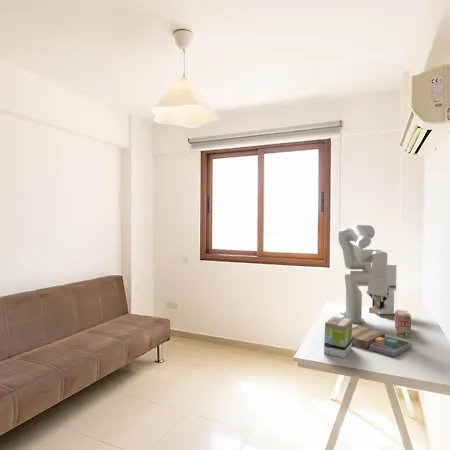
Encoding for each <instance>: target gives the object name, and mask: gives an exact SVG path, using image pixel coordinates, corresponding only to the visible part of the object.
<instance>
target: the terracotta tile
mask: <svg viewBox="0 0 450 450" xmlns="http://www.w3.org/2000/svg"><path fill="white" fill-rule="evenodd" d="M384 345H385V338H382V337H378V338H376V339H375V346H376V347H380V348H384Z"/></svg>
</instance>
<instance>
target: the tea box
mask: <svg viewBox="0 0 450 450" xmlns="http://www.w3.org/2000/svg"><path fill="white" fill-rule="evenodd" d="M352 328H353V323H352V319H346V318H343V317H338V316H332V317H331V318H329V319H328V320H326V322H325V323H324V340H323V343H324V344H323V354H326V355H329V356H334V357H338V358H343V359H344V358H346V357H347V355H348V354H349V352H351V350H352V346H353V345H352Z"/></svg>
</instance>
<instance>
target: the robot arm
mask: <svg viewBox="0 0 450 450" xmlns="http://www.w3.org/2000/svg"><path fill="white" fill-rule="evenodd" d="M375 234H376V231H375V228H374V227H373V226H372V225H369V224H354V225H352V226H351V227H350V228H349V227H347V228H342V229H340V230H339V232H338V235H337V236H338V242H339V245H340V248H341V250H342V255H343V261H344V265H345V268H346V269H348V270H351V271H347V272H346V273H345V274H344V282H345V311H344V310H340V315H341V316H343V317H342V318H346V319H352V324H353V323H354V324H361V323H364V322H365V319H364V318H363V317H362V316H363V315H362V308H363V303H362V302H363V298H362V297H363V293H362V291H361V289H360V288H359V287H367V291H366V294H367V295H368V296H369V297H370V299H371V300H372V304H371V305H373V307H374V296H376V295H378V296H381V301H380V309H382V308H383V307H384V301H385V300H386V299H388V298H391V295H390V293H389V280H388V277H387V263H388V252H386V251H382V250H381V249H369V248H368V247H369V246H370V245H371V243H372V239H373V238H374V236H375ZM352 242H355V244H353V243H352ZM366 248H368V249H366ZM386 295H387V297H385V296H386Z"/></svg>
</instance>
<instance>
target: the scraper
mask: <svg viewBox="0 0 450 450" xmlns="http://www.w3.org/2000/svg"><path fill="white" fill-rule="evenodd" d="M380 301H381V296H378V295H376V296H374V307H369V308H368V313H369V314H372V315H373V314H374V313H376V312H379V311H381V310H384V309H386V305H387V304H384V307H383V308H382V309H380Z"/></svg>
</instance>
